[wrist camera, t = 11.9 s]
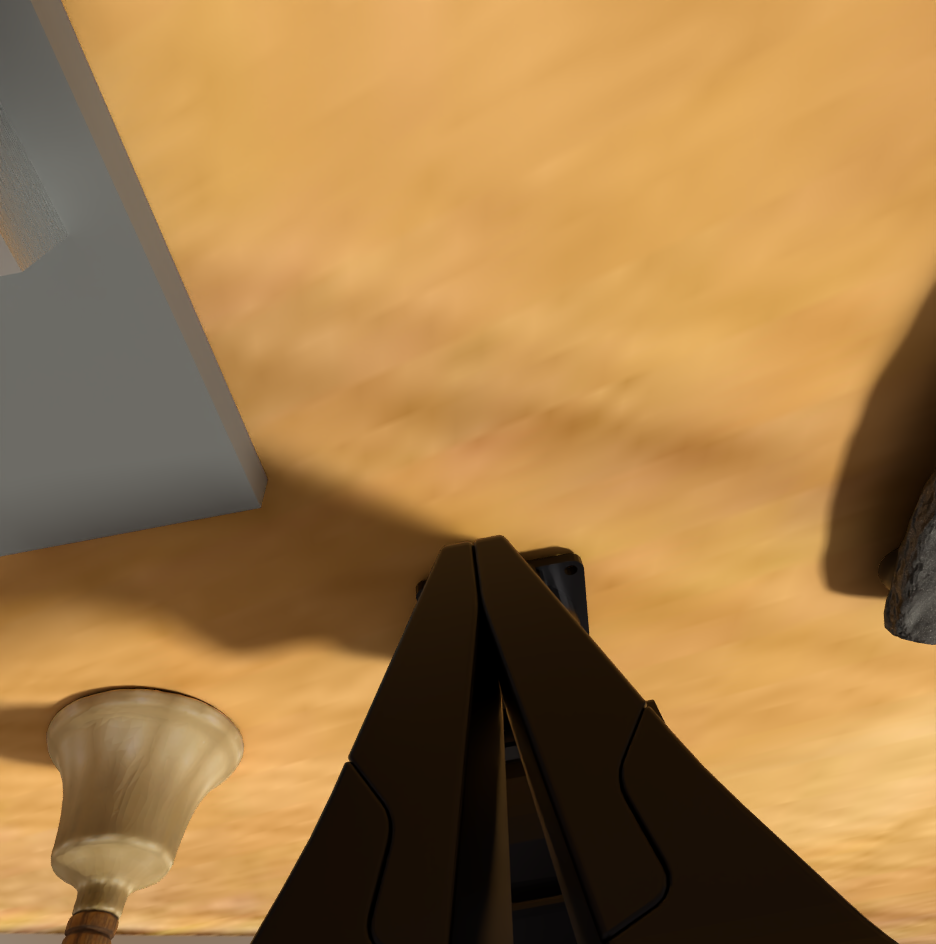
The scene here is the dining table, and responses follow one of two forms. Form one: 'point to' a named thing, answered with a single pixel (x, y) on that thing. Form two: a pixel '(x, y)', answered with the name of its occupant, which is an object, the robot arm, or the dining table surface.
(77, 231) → the board
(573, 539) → the dining table surface
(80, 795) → the hand bell
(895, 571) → the serving board
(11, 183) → the square hole block
